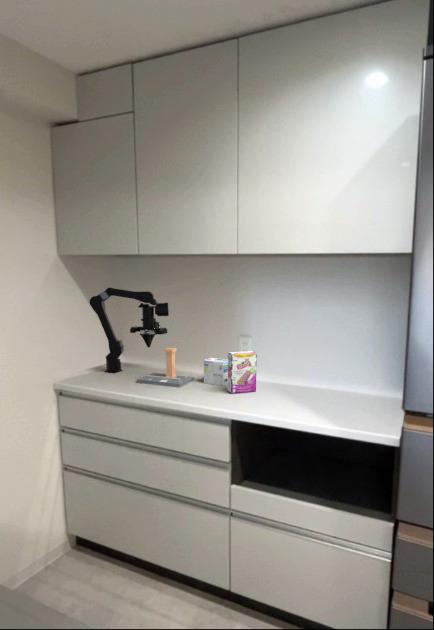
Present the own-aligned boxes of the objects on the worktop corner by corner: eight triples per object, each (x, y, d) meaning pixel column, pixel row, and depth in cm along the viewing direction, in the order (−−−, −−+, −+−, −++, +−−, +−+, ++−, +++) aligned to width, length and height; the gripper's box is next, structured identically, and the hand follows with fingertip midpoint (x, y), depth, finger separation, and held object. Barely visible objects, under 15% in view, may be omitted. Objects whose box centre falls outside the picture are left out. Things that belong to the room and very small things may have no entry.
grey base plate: (136, 382, 195) (136, 376, 195) (153, 376, 208) (153, 370, 207) (179, 387, 186) (179, 381, 186) (194, 380, 199) (194, 374, 199)
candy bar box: (231, 394, 175) (231, 354, 173) (227, 391, 180) (227, 352, 178) (256, 391, 178) (257, 352, 177) (252, 388, 183) (252, 350, 182)
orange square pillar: (164, 378, 195) (164, 349, 193) (169, 376, 198) (168, 347, 197) (172, 379, 193) (172, 349, 192) (176, 377, 197) (176, 348, 195)
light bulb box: (231, 383, 193) (231, 359, 192) (223, 386, 187) (223, 361, 187) (211, 380, 199) (211, 357, 198) (203, 383, 193) (203, 359, 192)
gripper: (172, 315, 220) (173, 346, 222) (141, 314, 228) (142, 343, 229) (161, 317, 210) (161, 349, 211) (129, 316, 218) (129, 347, 219)
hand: (148, 347), depth 218 cm, fingers closed
